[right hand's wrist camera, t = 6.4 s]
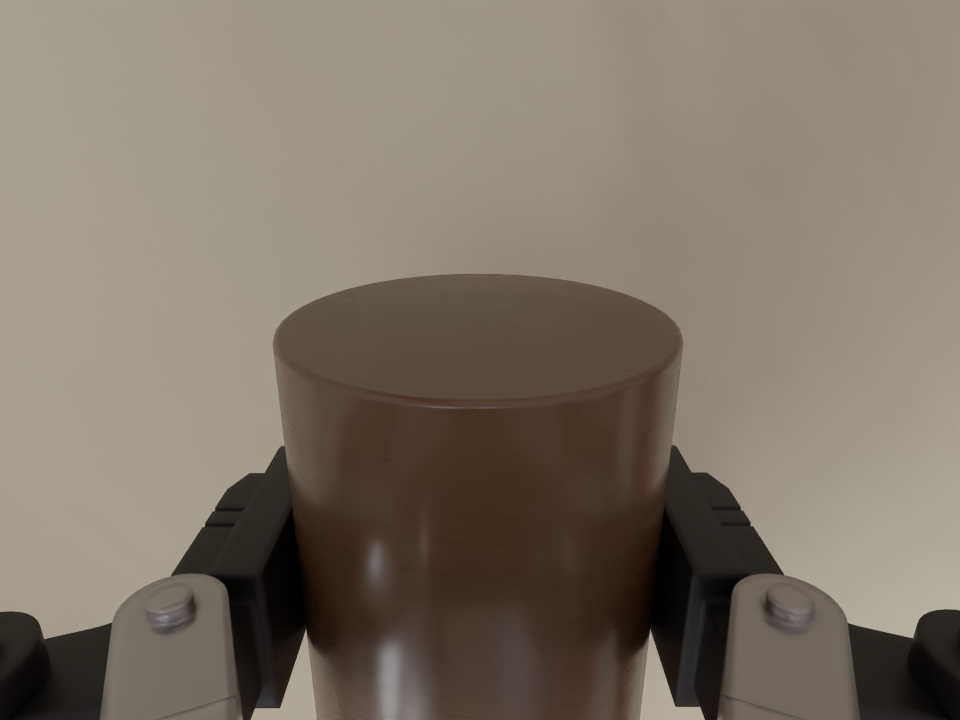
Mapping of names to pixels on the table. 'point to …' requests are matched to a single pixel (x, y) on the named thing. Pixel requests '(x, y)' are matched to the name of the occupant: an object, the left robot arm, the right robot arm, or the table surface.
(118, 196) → the table surface
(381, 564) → the rod
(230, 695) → the right robot arm
